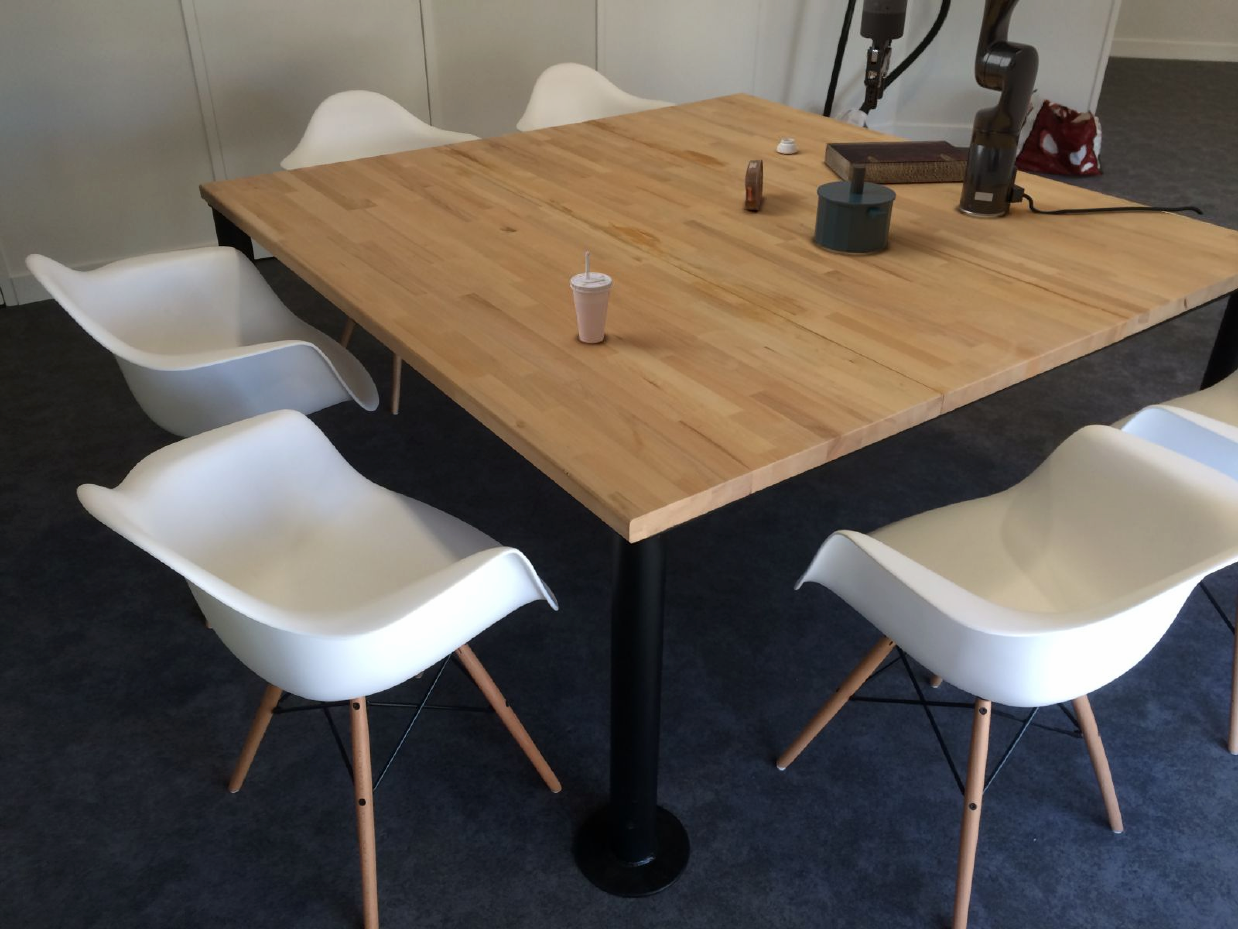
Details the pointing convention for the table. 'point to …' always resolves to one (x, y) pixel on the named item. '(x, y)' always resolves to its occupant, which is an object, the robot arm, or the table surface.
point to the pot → (852, 227)
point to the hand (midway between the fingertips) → (873, 103)
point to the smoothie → (591, 303)
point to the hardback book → (898, 161)
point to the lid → (856, 191)
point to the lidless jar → (787, 146)
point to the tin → (754, 184)
